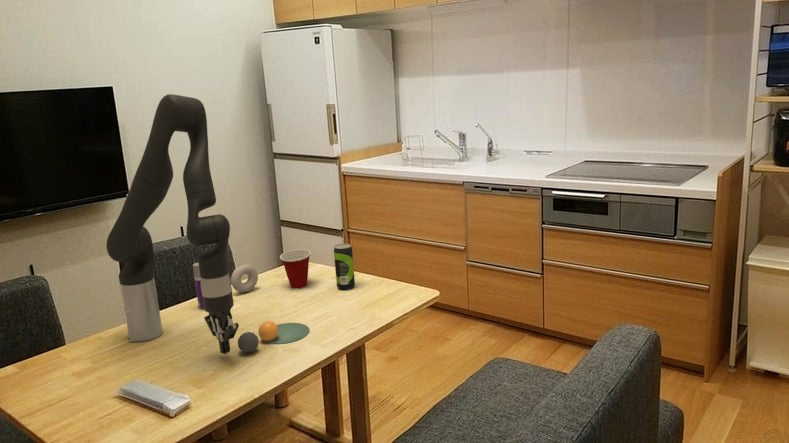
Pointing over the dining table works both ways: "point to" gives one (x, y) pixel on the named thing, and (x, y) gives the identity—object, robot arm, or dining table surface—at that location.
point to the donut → (240, 272)
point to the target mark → (289, 333)
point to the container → (198, 285)
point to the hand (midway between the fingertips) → (225, 352)
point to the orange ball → (268, 331)
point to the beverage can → (344, 266)
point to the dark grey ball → (248, 342)
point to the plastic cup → (296, 266)
